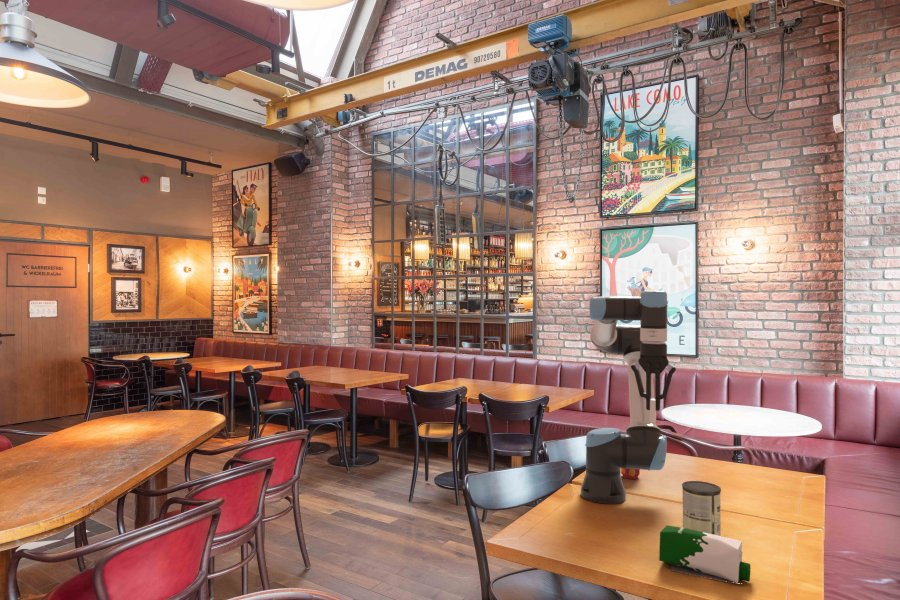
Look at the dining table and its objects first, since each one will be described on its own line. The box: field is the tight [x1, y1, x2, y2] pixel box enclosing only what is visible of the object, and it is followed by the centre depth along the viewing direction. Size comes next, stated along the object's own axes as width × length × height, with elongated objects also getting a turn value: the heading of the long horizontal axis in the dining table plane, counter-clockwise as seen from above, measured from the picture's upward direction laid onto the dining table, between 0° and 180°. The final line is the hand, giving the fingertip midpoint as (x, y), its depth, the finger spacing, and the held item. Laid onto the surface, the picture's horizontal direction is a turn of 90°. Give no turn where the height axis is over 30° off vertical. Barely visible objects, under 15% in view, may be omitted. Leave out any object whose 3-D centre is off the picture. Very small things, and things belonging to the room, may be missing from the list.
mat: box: [670, 564, 744, 584], centre depth 140 cm, size 16×12×1 cm
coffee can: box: [681, 480, 722, 536], centre depth 161 cm, size 10×10×14 cm
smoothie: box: [620, 432, 641, 480], centre depth 216 cm, size 8×8×20 cm
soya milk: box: [658, 525, 751, 583], centre depth 138 cm, size 9×9×20 cm
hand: (653, 421), depth 165 cm, fingers closed
